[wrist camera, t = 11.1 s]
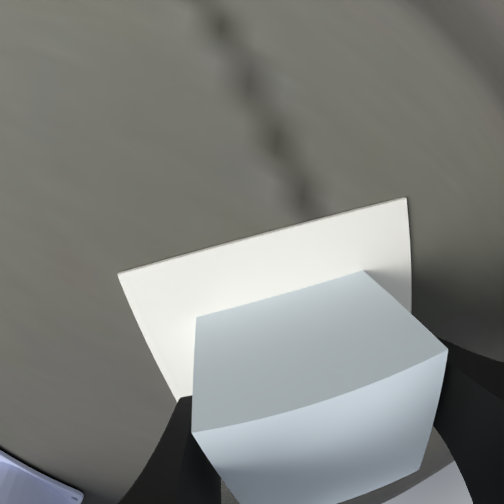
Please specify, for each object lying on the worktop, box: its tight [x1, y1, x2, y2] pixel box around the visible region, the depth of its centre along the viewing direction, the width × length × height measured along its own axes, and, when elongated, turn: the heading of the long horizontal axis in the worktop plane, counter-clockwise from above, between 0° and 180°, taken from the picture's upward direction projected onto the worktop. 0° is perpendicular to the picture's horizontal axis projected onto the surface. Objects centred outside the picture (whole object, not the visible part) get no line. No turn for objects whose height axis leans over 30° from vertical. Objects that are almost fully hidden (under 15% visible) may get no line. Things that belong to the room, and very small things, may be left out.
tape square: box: [118, 197, 411, 402], centre depth 12 cm, size 10×10×1 cm
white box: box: [191, 270, 448, 504], centre depth 9 cm, size 6×6×5 cm
